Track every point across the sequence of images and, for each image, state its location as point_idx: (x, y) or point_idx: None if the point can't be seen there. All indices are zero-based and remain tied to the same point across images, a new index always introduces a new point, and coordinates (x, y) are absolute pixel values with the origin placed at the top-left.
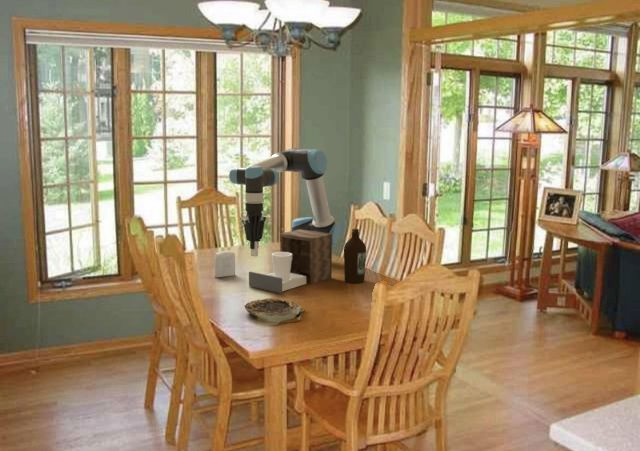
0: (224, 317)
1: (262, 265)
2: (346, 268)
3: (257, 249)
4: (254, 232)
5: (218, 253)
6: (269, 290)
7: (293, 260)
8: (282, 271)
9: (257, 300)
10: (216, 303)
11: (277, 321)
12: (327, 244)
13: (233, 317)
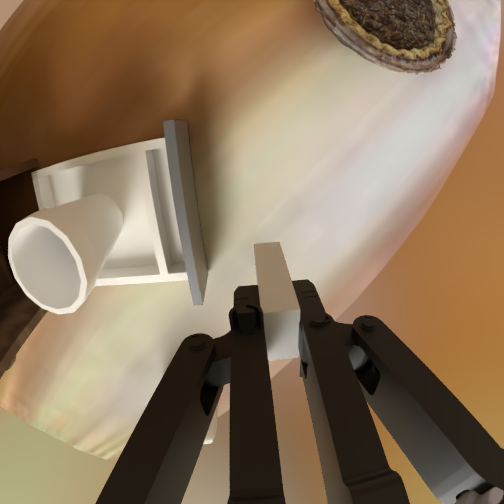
0: (467, 100)
1: (70, 377)
2: None
3: (261, 268)
4: (339, 398)
5: (207, 440)
6: (193, 177)
7: (9, 302)
8: (94, 208)
9: (384, 61)
10: (410, 203)
11: None
12: None
13: (456, 80)
